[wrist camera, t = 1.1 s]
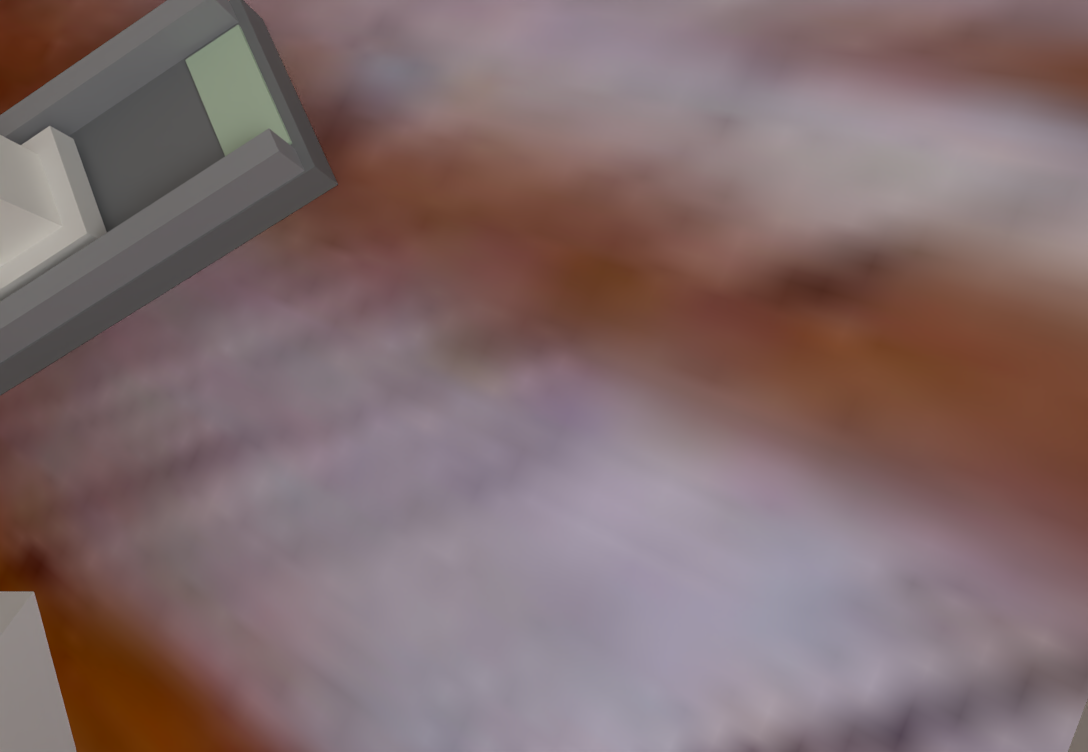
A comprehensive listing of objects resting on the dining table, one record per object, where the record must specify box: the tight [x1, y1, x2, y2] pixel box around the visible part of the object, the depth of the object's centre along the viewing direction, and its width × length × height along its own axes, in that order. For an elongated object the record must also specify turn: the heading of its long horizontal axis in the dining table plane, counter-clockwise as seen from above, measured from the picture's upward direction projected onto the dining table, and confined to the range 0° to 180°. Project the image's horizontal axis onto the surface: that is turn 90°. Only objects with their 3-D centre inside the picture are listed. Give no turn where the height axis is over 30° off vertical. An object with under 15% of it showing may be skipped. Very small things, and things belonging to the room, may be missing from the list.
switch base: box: [0, 0, 338, 395], centre depth 41 cm, size 26×10×4 cm, turn 116°
